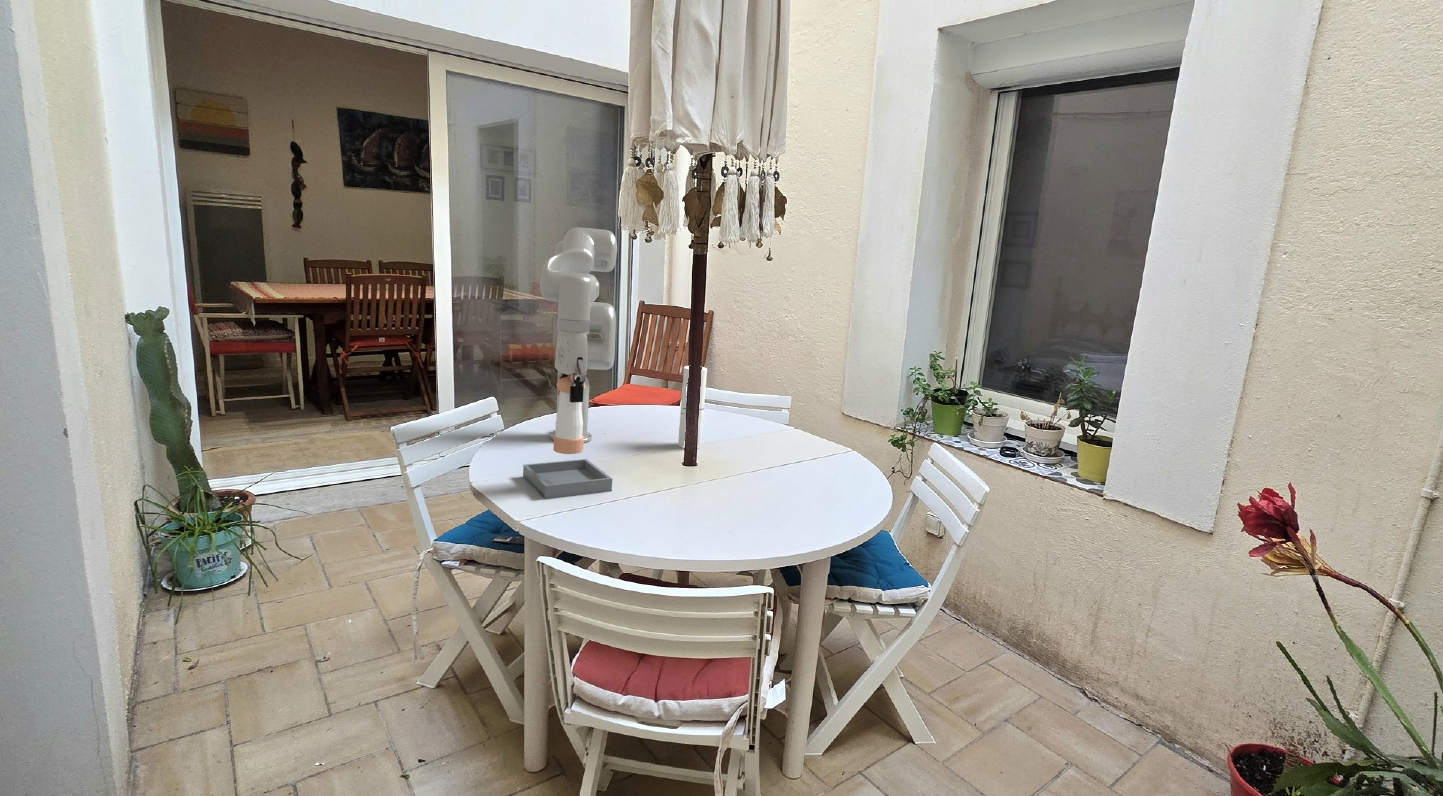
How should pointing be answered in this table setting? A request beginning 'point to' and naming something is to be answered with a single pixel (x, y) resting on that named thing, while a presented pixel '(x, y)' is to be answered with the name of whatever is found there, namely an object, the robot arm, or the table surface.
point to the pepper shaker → (568, 421)
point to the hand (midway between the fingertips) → (570, 398)
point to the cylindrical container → (683, 406)
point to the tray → (566, 478)
